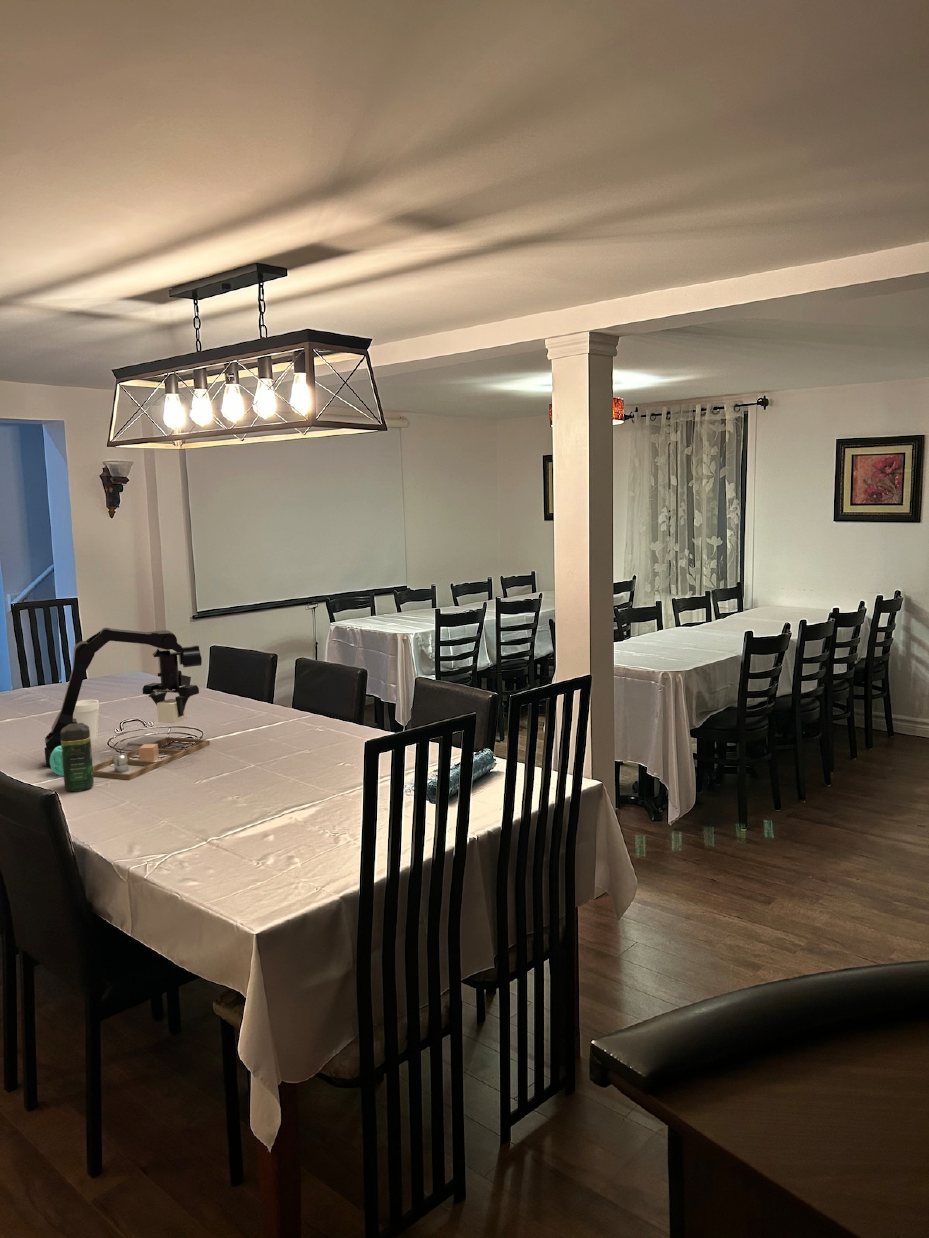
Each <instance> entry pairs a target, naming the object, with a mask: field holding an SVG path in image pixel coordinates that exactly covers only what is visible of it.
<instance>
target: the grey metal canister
mask: <svg viewBox="0 0 929 1238" xmlns="http://www.w3.org/2000/svg"><path fill="white" fill-rule="evenodd" d="M125 753H126V752H125ZM125 753H123V752H122V753H117V754H114V755H113V757H112V758H114V764H113V767H114V768H113V769H114V773H123V774H125V773H126V772H129V765H128V759H129V758H127V754H125Z"/></svg>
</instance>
